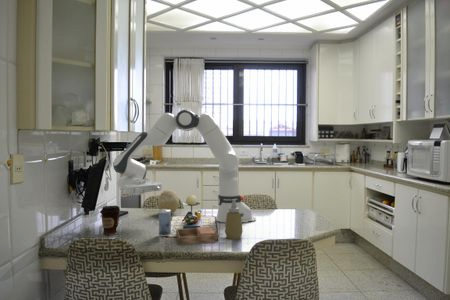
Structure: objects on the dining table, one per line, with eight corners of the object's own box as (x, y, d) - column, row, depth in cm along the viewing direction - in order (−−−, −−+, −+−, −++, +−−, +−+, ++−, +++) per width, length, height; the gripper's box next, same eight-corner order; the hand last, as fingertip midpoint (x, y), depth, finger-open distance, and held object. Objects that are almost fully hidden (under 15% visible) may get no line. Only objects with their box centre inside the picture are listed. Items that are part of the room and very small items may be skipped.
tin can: (170, 233, 150) (170, 208, 149) (171, 236, 144) (171, 211, 144) (158, 234, 148) (158, 209, 148) (159, 237, 143) (159, 211, 143)
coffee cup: (113, 236, 144) (113, 209, 143) (97, 235, 145) (97, 208, 145) (123, 231, 152) (123, 205, 152) (107, 230, 154) (107, 204, 153)
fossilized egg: (157, 216, 182) (157, 191, 181) (157, 212, 194) (157, 188, 193) (179, 215, 185) (179, 190, 184) (177, 211, 197) (177, 187, 196)
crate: (212, 234, 149) (212, 227, 149) (218, 243, 136) (218, 235, 136) (176, 236, 144) (176, 229, 144) (179, 246, 132) (179, 237, 132)
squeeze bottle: (224, 236, 145) (224, 198, 145) (241, 236, 146) (241, 198, 145) (225, 242, 137) (225, 201, 137) (243, 242, 138) (244, 201, 137)
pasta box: (210, 233, 147) (210, 226, 147) (215, 240, 137) (215, 232, 137) (196, 234, 145) (196, 227, 145) (200, 241, 136) (200, 233, 136)
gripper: (118, 182, 157) (131, 185, 147) (153, 179, 171) (167, 181, 161) (118, 194, 157) (131, 198, 147) (153, 190, 171) (167, 194, 162)
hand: (150, 190), depth 154 cm, fingers open, 8 cm apart
